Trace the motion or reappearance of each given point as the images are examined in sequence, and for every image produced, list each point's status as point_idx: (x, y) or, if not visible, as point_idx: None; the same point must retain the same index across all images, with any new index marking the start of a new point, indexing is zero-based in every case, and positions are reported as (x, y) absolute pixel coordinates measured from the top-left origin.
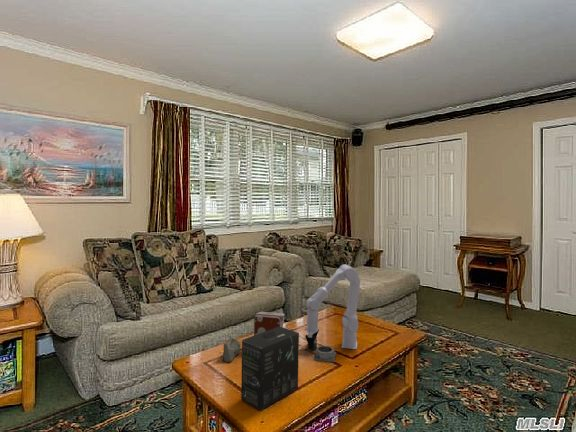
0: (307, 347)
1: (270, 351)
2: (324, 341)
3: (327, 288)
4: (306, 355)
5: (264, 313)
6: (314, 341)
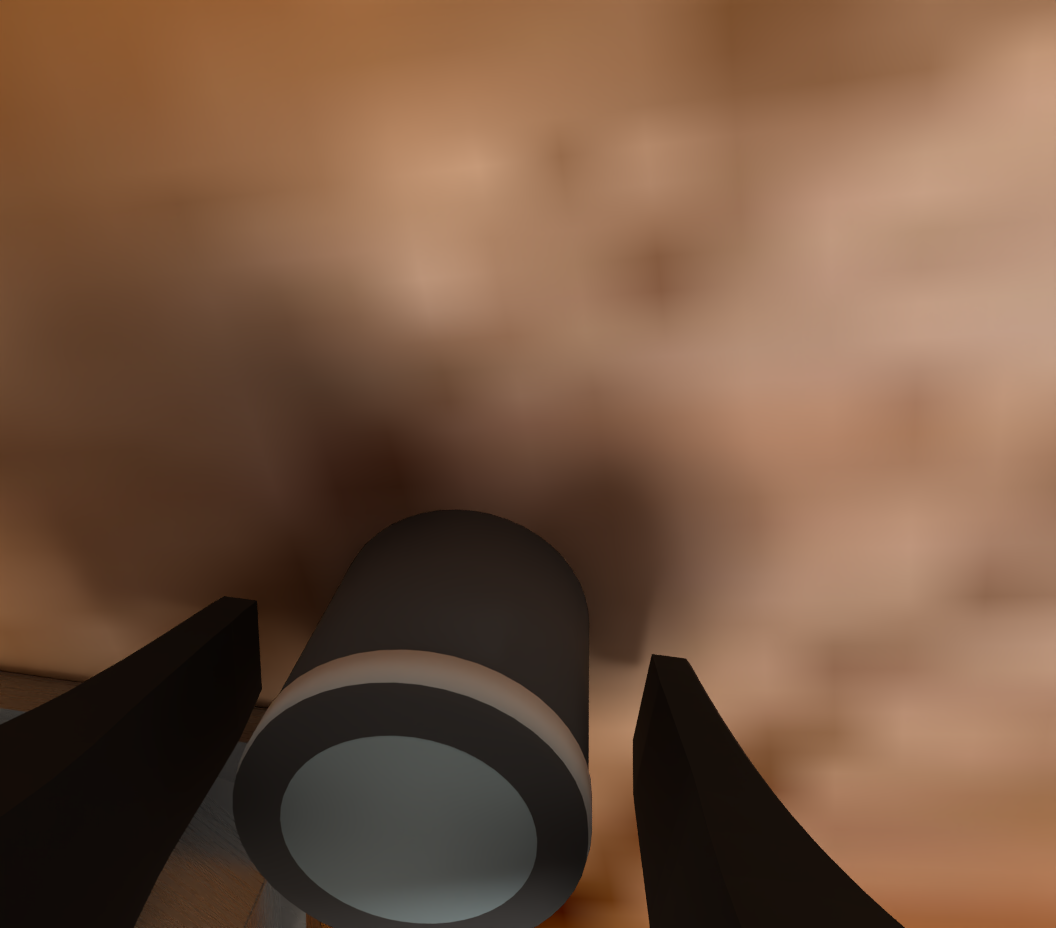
0: (430, 528)
1: None
2: (942, 869)
3: None
4: (28, 504)
5: None
6: (277, 880)
